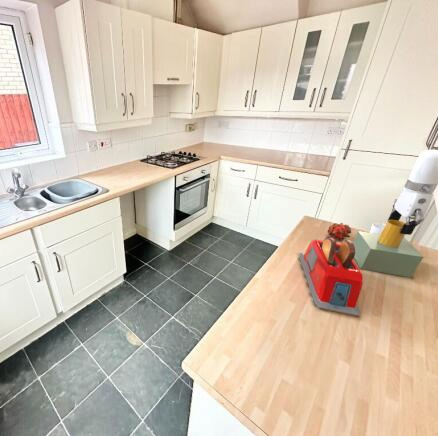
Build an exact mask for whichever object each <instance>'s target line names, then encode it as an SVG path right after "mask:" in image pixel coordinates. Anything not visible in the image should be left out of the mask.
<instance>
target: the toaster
mask: <svg viewBox="0 0 438 436" xmlns="http://www.w3.org/2000/svg"><path fill="white" fill-rule="evenodd" d="M354 256H355V247H354V244H353V241H352V240H351V239H346V238H345V239H344V240H341V242H337V241H336V239H333V238H329V237H325V238H324V239H323V240H322V239H321V240H320V239H313V240H311V241H310V242H309V244H308V246H307V248H306V250H305V252H300V253H299V260H300V263H301V266H302V269H303V272H304V275H305V278H306V281H307V283H308V287H309V291H310V293H311V296H312V299H313V301H314V304H315V306H316V307H317V309H320V310H325V311H329V312H333V313H339V314H342V315H343V314H344V315H348V316H352V317H360V316H361V311H360V309H359V306H358V304H357V303H358V300H359V297H360V294H361V292H362V288H363V284H364V282H363V278H364V277H363V274H362V272H361V270H360V267H359V266H358V264H356V262H355V261H354V259H355V258H354Z"/></svg>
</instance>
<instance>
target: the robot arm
mask: <svg viewBox="0 0 438 436" xmlns="http://www.w3.org/2000/svg"><path fill="white" fill-rule="evenodd" d="M437 187H438V149H426V150H423V151H421V152H420V153H419V155H418V157H417V159H416V161H415V163H414V165H413V167H412V169H411V172H410V173H409V176H408V178H407V180H406V181H405V184H404V186H403V189H402V190H401V192H400V194H399V195H398V197H397V198H395V199H394V201H393V205H392V209H391V213H390V215H389V217H388V218H387V221H388V220H398V221H400V219H401V217H404V218H405V223H406V224H404V225H403V227H402V229H401V231H400V233H401V234H406V236H407V235H409V236H411V235H412V234H413V232H414V230H415V229H416V227H418V226H419V225H420V224H421V223H422V222H424V220H425V218H424V217H425V216H426V213H427V211H428V210H429V208H430V205H431V202H432V200H433V199H432V198H433V193H434V192H435V190H436V189H437Z"/></svg>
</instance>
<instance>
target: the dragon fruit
mask: <svg viewBox="0 0 438 436" xmlns="http://www.w3.org/2000/svg"><path fill="white" fill-rule="evenodd" d="M327 233H328V236H329V237H328V238H333V239H335V240H337V239H338V241H343V240H344V239H345V240H346V238H347V239H349V238H351V235H350V234H352V228H351V227H350V225H349V224H344V223H343V222H340V223H333V224H332V225H329V227H328V229H327Z"/></svg>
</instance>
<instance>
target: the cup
mask: <svg viewBox="0 0 438 436" xmlns="http://www.w3.org/2000/svg"><path fill="white" fill-rule="evenodd" d="M385 224H386V225H385V227H384V228H383V230H382V232H381V234H380V236H379V238H378V242H379V243H381V244H383V245H385V246H388V247H399V245H400V243H401V242H402V240H403V238H405V236H407V234H401V233H400V231H401V229H402V227H403V225H404V224H406V222H404V221H402V220H399V221H398V220H388V219H387V220H386V223H385Z"/></svg>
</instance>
